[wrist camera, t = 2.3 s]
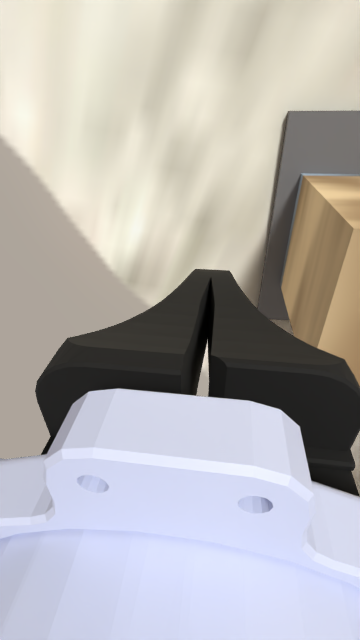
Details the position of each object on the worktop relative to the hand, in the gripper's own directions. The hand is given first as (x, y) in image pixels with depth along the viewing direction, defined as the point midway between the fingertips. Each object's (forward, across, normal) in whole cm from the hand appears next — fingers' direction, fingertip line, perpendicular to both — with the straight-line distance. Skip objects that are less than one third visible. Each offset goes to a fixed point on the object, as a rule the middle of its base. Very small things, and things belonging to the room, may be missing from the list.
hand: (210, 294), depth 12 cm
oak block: (+7, -6, 0) cm, 9 cm away
